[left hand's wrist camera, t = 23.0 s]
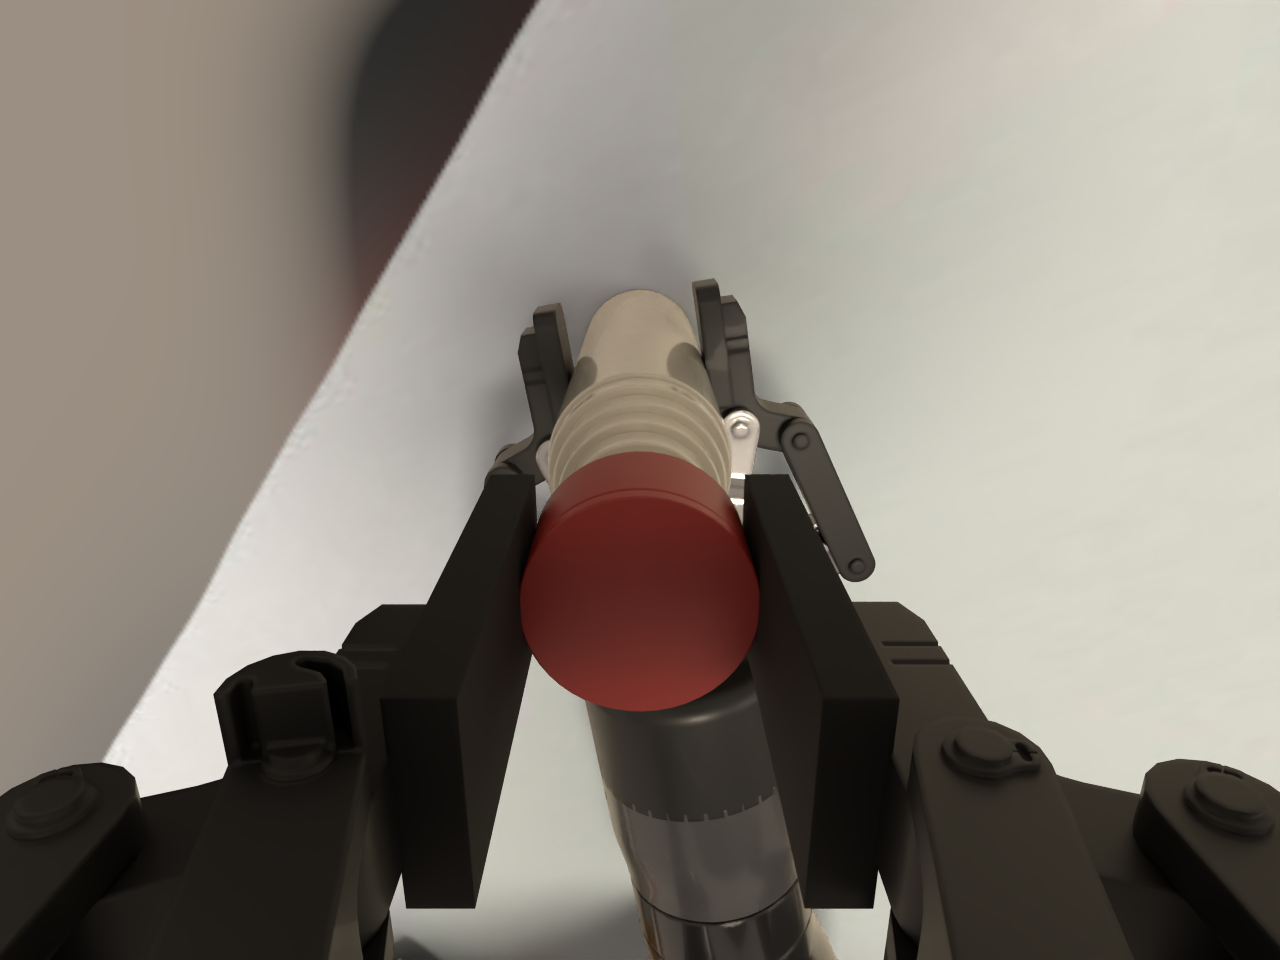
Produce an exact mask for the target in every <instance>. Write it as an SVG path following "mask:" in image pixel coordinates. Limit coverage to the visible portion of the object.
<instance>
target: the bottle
mask: <svg viewBox="0 0 1280 960" xmlns="http://www.w3.org/2000/svg"><path fill="white" fill-rule="evenodd" d="M634 451H642V452H655V453H662V454H667V455H670V456H673V457H677V458H680V459H682V460H684V461H687V462H689V463H691V464H693V465H695V466H696V467H698V468H700V469H701V470H703V471H704V472H706V473H707V474H708V475H709V476H711V477H712V478H713V479H714V480H715V481H716V482H717V483H718V484H719V485H720V486H721V487H722V488H723V489H724V490H725V492H726V493H727V494H729V489H730V485H731V476H732V450H731V444H730V439H729V436H728V433H727V430H726V427H725V424H724V421H723V418H722V415H721V412H720V409H719V406H718V404H717V401H716V398H715V395H714V392H713V389H712V386H711V383H710V380H709V377H708V374H707V371H706V368H705V365H704V363H703V360H702V357H701V354H700V351H699V348H698V345H697V342H696V339H695V336H694V333H693V330H692V327H691V324H690V322H689V320H688V318H687V316H686V315H685V313H684V312H683V310H682V309H681V308H680V307H679V306H678V305H677V304H676V303H675V302H674V301H672V300H671V299H669V298H668V297H666V296H664V295H662V294H660V293H657V292H654V291H648V290H631V291H627V292H623V293H621V294H618V295H616V296H614V297H612V298H611V299H609V300H608V301H606V302H605V303H604V304H603V305H602V306H601V307H600V308H599V309H598V310H597V312H596V313H595V315H594V316H593V318H592V320H591V322H590V324H589V327H588V330H587V333H586V336H585V339H584V342H583V344H582V347H581V350H580V353H579V356H578V359H577V362H576V365H575V368H574V371H573V374H572V377H571V379H570V382H569V385H568V388H567V391H566V394H565V397H564V400H563V403H562V406H561V409H560V411H559V414H558V417H557V420H556V423H555V426H554V429H553V432H552V435H551V439H550V443H549V449H548V479H549V487H550V491H551V494H553V492H554V491H555V490H556V489H557V488H558V486H559V485H560V484H561V483H562V482H563V481H564V480H565V479H567V478H568V477H569V476H570V475H571V474H573V473H574V472H575V471H577V470H578V469H580V468H581V467H583V466H585V465H587V464H589V463H591V462H593V461H595V460H597V459H600V458H603V457H606V456H609V455H614V454H618V453H624V452H634Z"/></svg>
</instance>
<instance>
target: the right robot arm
mask: <svg viewBox="0 0 1280 960" xmlns="http://www.w3.org/2000/svg"><path fill="white" fill-rule="evenodd" d="M692 288H693V296H694V303H695V311H696V318H697V326H698V333H699V340H700V348H701V355H702V360H703V363H704V365H705V368H706V371H707V374H708V377H709V380H710V383H711V386H712V389H713V392H714V395H715V398H716V401H717V404H718V406H719V409H720V412H721V415H722V418H723V421H724V424H725V427H726V430H727V433H728V436H729V439H730V444H731V450H732V476H731V485H730V489H729V494H728V496H729V497H730V499H731V500H732V502H733V504H734V506H735V508H736V509H737V511H738V514H739V517H740V520H741V522H742V521H743V500H744V478H745V474H752V471H753V466H754V461H755V455H756V450H757V447H758V448H764V449H769V450H774V451H780V452H783V454H784V456H785V458H786V460H787V463H788V465H789V467H790V469H791V471H792V473H793V476H794V478H795V480H796V482H797V484H798V486H799V489H800V491H801V493H802V495H803V497H804V499H805V502H806V504H807V506H808V508H809V510H810V512H811V513H810V514H808V515H809V517H810V519H811V521H812V523H813V525H814V527H815V529H816V531H817V533H818V535H819V537H820V539H821V541H822V543H823V545H824V547H825V549H826V551H827V553H828V555H829V557H830V559H831V561H832V563H833V565H834V567H835V569H836V571H837V573H838V574H841V576H842V577H843V578H844V579H846V580H848V581H851V582H860V581H863V580H865V579H867V578H868V577H869V576H870V575H871V574H872V573H873V571H874V569H875V559H874V557H873V555H872V552H871V550H870V548H869V545H868V543H867V541H866V539H865V536H864V534H863V532H862V530H861V527H860V525H859V523H858V520H857V518H856V516H855V514H854V511H853V509H852V507H851V505H850V502H849V500H848V498H847V496H846V493H845V491H844V489H843V486H842V484H841V482H840V480H839V477H838V475H837V473H836V471H835V468H834V466H833V464H832V461H831V459H830V457H829V455H828V452H827V450H826V448H825V446H824V443H823V441H822V439H821V437H820V434H819V432H818V430H817V429H816V427H815V426H814V424H813V423H812V422H811V420H810V419H809V417H808V416H807V414H806V413H805V412H804V410H803V409H802V408H801V407H800V406H799V405H798V404H796V403H793V402H785V403H781V404H780V403H775V402H770V401H765V400H762V399H760V398H759V397H757V396H756V395H755V393H754V384H753V376H752V367H751V358H750V351H749V341H748V332H747V324H746V317H745V315H744V313H743V311H742V309H741V307H740V306H739V304H738V302H737V301H736V299H735V298H734V297H733V295H729V296H723V297H720V291H719V286H718V283H717V282H716V280H715V279H714V278H713V279H707V280H701V281H695V282H692ZM533 323H534V327H529V328H526V330H525V331H524V332H523V334H522V335H521V338H520V344H519V350H518V356H519V361H520V365H521V370H522V375H523V379H524V383H525V389H526V393H527V398H528V402H529V407H530V412H531V416H532V421H533V426H534V433H533V434H532V435H531V436H530V437H528V438H526V439H525V440H523V441H521V442H519V443H517V444H508V445H506V446H504V447H503V448H501V450H500V451H499V453H498V454H497V456H496V459H495V463H494V465H493V467H492V468H491V469H490V470H489V472H488V474H487V476H486V478H485V482H484V488H485V486H486V484H487V482H488V480H489V478H490V476H491V474H535V485H537V484H539V483H541V482H543V481H545V480H546V481H547V483H548V485H549V479H548V449H549V443H550V439H551V435H552V432H553V429H554V426H555V423H556V420H557V417H558V414H559V411H560V409H561V406H562V403H563V400H564V397H565V394H566V391H567V388H568V385H569V382H570V379H571V377H572V374H573V371H574V366H573V361H572V356H571V351H570V345H569V340H568V335H567V330H566V325H565V319H564V314H563V310H562V306H561V304H560V303H557V304H551V305H545V306H539V307H538V308H537V309H536V310H535V311H534V313H533ZM585 701H586V706H587V711H588V715H589V720H590V724H591V729H592V733H593V738H594V743H595V748H596V753H597V757H598V762H599V766H600V771H601V776H602V780H603V785H604V790H605V794H606V799H607V803H608V807H609V812H610V817H611V821H612V825H613V829H614V832H615V835H616V838H617V841H618V843H619V846H620V849H621V851H622V854H623V856H624V858H625V861H626V863H627V866H628V870H629V873H630V877H631V881H632V886H633V891H634V895H635V900H636V905H637V909H638V914H639V920H640V925H641V930H642V934H643V938H644V942H645V946H646V949H647V952H648V954H649V957H650V960H837V958H836V956H835V953H834V951H833V949H832V947H831V945H830V943H829V940H828V938H827V936H826V934H825V932H824V930H823V928H822V926H821V924H820V923H819V921H818V919H817V917H816V916H815V914H814V912H813V909H804V904H803V900H802V895H801V891H800V886H799V882H798V878H797V873H796V869H795V864H794V860H793V855H792V851H791V846H790V842H789V837H788V833H787V829H786V824H785V820H784V815H783V811H782V806H781V802H780V797H779V793H778V788H777V784H776V779H775V775H774V771H773V766H772V762H771V757H770V753H769V748H768V744H767V739H766V735H765V730H764V726H763V722H762V717H761V713H760V708H759V704H758V699H757V695H756V690H755V686H754V681H753V677H752V672H751V668H750V664H749V659H748V655H746V656H745V658H744V660H743V661H742V662H741V663H740V665H739V666H738V667H737V669H736V670H735V671H734V672H733V673H732V674H731V675H730V676H729V677H728V678H727V679H726V680H725V681H724V682H722V683H721V684H720V685H718V686H717V687H716V688H715V689H713V690H712V691H710V692H708V693H707V694H705V695H703V696H701V697H699V698H697V699H695V700H693V701H690V702H688V703H685V704H682V705H679V706H676V707H673V708H667V709H662V710H655V711H624V710H617V709H612V708H608V707H604V706H600V705H597V704H594V703H592V702H589V701H587V700H585Z"/></svg>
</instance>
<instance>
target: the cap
mask: <svg viewBox="0 0 1280 960" xmlns="http://www.w3.org/2000/svg"><path fill="white" fill-rule="evenodd" d="M759 595H760V586H759V581H758V577H757V573H756V570H755V566H754V563H753V560H752V556H751V553H750V549H749V546H748V543H747V539H746V536H745V532H744V529H743V526H742V522H741V520H740V517H739V514H738V511H737V509H736V508H735V506H734V504H733V502H732V500H731V499H730V497H729V496H728V494H727V493H726V492H725V490H724V489H723V488H722V487H721V486H720V485H719V484H718V483H717V482H716V481H715V480H714V479H713V478H712V477H711V476H709V475H708V474H707V473H706V472H704V471H703V470H701V469H700V468H698V467H696V466H695V465H693V464H691V463H689V462H687V461H684V460H682V459H680V458H677V457H673V456H670V455H667V454H662V453H655V452H642V451H634V452H624V453H618V454H614V455H609V456H606V457H603V458H600V459H597V460H595V461H593V462H591V463H589V464H587V465H585V466H583V467H581V468H580V469H578V470H577V471H575V472H574V473H573V474H571V475H570V476H569V477H568V478H567V479H565V480H564V481H563V482H562V483H561V484H560V485H559V486H558V488H557V489H556V490H555V491H554V492H553V494H552V495H551V497H550V498H549V500H548V501H547V503H546V505H545V506H544V509H543V511H542V513H541V515H540V518H539V521H538V525H537V528H536V532H535V535H534V538H533V542H532V545H531V549H530V552H529V555H528V559H527V562H526V566H525V569H524V572H523V576H522V579H521V583H520V606H521V623H522V631H523V634H524V637H525V640H526V642H527V644H528V646H529V648H530V650H531V652H532V654H533V655H534V657H535V658H536V660H537V661H538V663H539V664H540V666H541V667H542V668H543V669H544V670H545V671H546V672H547V674H548V675H549V676H550V677H552V678H553V679H554V680H555V681H556V682H557V683H558V684H559V685H561V686H562V687H564V688H565V689H567V690H568V691H570V692H571V693H573V694H575V695H577V696H578V697H580V698H582V699H584V700H587V701H589V702H592V703H594V704H597V705H600V706H604V707H608V708H612V709H617V710H624V711H655V710H662V709H667V708H673V707H676V706H679V705H682V704H685V703H688V702H690V701H693V700H695V699H697V698H699V697H701V696H703V695H705V694H707V693H708V692H710V691H712V690H713V689H715V688H716V687H717V686H718V685H720V684H721V683H722V682H724V681H725V680H726V679H727V678H728V677H729V676H730V675H731V674H732V673H733V672H734V671H735V670H736V669H737V667H738V666H739V665H740V663H741V662H742V661H743V660H744V658H745V656H746V655H747V653H748V651H749V649H750V648H751V646H752V643H753V641H754V638H755V636H756V633H757V629H758V614H759Z"/></svg>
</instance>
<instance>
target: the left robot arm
mask: <svg viewBox="0 0 1280 960" xmlns="http://www.w3.org/2000/svg"><path fill="white" fill-rule="evenodd" d="M742 526H743V529H744V532H745V536H746V539H747V543H748V546H749V549H750V553H751V556H752V560H753V563H754V566H755V570H756V573H757V577H758V581H759V586H760V595H759V614H758V629H757V633H756V636H755V638H754V641H753V643H752V646H751V648H750V649H749V651H748V653H747V655H748V659H749V664H750V668H751V672H752V677H753V681H754V686H755V690H756V695H757V699H758V704H759V708H760V713H761V717H762V722H763V726H764V730H765V735H766V739H767V744H768V748H769V753H770V757H771V762H772V766H773V771H774V775H775V779H776V784H777V788H778V793H779V797H780V802H781V806H782V811H783V815H784V820H785V824H786V829H787V833H788V837H789V842H790V846H791V851H792V855H793V860H794V864H795V869H796V873H797V878H798V882H799V886H800V891H801V895H802V900H803V904H804V909H873V906H874V898H875V890H876V883H877V875H878V870H879V873H880V876H881V879H882V882H883V885H884V888H885V890H886V893H887V896H888V899H889V902H890V905H891V910H890V918H889V925H888V932H887V940H886V947H885V954H884V960H1280V792H1279V791H1277V790H1276V789H1274V788H1273V787H1272V786H1270V785H1269V784H1267V783H1264V782H1262V781H1260V780H1258V779H1256V778H1254V777H1252V776H1250V775H1247V774H1245V773H1243V772H1242V771H1240V770H1237V769H1234V768H1231V767H1228V766H1222V765H1221V764H1216V763H1211V762H1208V761H1198V760H1187V759H1175V760H1170V761H1165V762H1160V763H1157V764H1156V765H1155V766H1154V767H1152V768H1151V769H1150V770H1149V771H1148V772H1147V773H1146V774H1145V777H1144V781H1143V785H1142V789H1141V793H1140V794H1135V793H1130V792H1126V791H1121V790H1116V789H1112V788H1107V787H1102V786H1097V785H1093V784H1088V783H1083V782H1080V781H1076V780H1072V779H1069V778H1065V777H1062V776H1059V775H1056V773H1055V770H1054V768H1053V766H1052V764H1051V762H1050V761H1049V760H1048V758H1047V757H1046V755H1045V754H1044V753H1043V751H1042V750H1041V748H1040V747H1038V746H1037V745H1036V744H1034V743H1033V742H1032V741H1030V740H1029V739H1028V738H1026V737H1025V736H1023V735H1022V734H1021V733H1019V732H1017V731H1015V730H1012V729H1010V728H1008V727H1005V726H1003V725H1001V724H998V723H996V722H992V721H988V719H987V718H986V716H985V715H984V713H983V712H982V710H981V709H980V707H979V705H978V704H977V702H976V701H975V699H974V698H973V696H972V694H971V693H970V691H969V690H968V688H967V687H966V685H965V684H964V682H963V680H962V679H961V677H960V676H959V674H958V673H957V671H956V669H955V668H954V666H953V665H950V663H949V658H948V657H947V655H946V654H945V652H944V651H943V649H942V648H941V646H938V641H937V640H936V638H935V637H934V635H933V633H932V632H931V630H930V629H929V627H928V626H927V624H926V623H925V621H924V620H923V619H921V618H920V617H919V616H917V615H916V614H914V613H913V612H911V611H910V610H909V609H907V608H906V607H904V606H903V605H901V604H900V603H898V602H852V601H851V599H850V597H849V595H848V593H847V591H846V589H845V587H844V585H843V583H842V581H841V579H840V577H839V575H838V573H837V571H836V569H835V567H834V565H833V563H832V561H831V559H830V557H829V555H828V553H827V551H826V549H825V547H824V545H823V543H822V541H821V539H820V537H819V535H818V533H817V531H816V529H815V527H814V525H813V523H812V521H811V519H810V517H809V515H808V513H807V511H806V509H805V507H804V505H803V503H802V501H801V499H800V497H799V495H798V493H797V491H796V489H795V487H794V485H793V483H792V481H791V479H790V477H789V475H788V474H745V478H744V500H743V521H742ZM536 528H537V511H536V490H535V474H491V476H490V478H489V480H488V482H487V484H486V486H485V488H484V490H483V492H482V494H481V496H480V498H479V500H478V502H477V504H476V506H475V508H474V510H473V512H472V514H471V516H470V518H469V520H468V522H467V524H466V526H465V528H464V530H463V532H462V534H461V536H460V538H459V540H458V542H457V544H456V546H455V548H454V550H453V552H452V554H451V556H450V558H449V560H448V562H447V564H446V566H445V568H444V570H443V572H442V574H441V576H440V578H439V580H438V582H437V584H436V586H435V588H434V590H433V592H432V594H431V596H430V598H429V600H428V602H427V604H382V605H381V606H379V607H378V608H376V609H375V610H374V611H372V612H371V613H369V614H368V615H366V616H365V617H364V618H362V619H361V620H359V621H358V622H357V623H355V625H354V627H353V628H352V630H351V631H350V633H349V634H348V636H347V638H346V639H345V641H344V642H343V644H342V649H339V650H338V652H337V653H336V654H334V653H331V652H327V651H296V652H291V653H285V654H280V655H274V656H271V657H268V658H266V659H263V660H261V661H258V662H255V663H253V664H250V665H247V666H246V667H244V668H243V669H241V670H239V671H238V672H236V673H235V674H233V675H232V676H230V677H228V678H227V679H226V680H225V681H224V682H223V683H222V685H221V686H220V687H219V688H218V689H217V691H216V692H215V693H214V694H213V695H214V700H215V704H216V709H217V714H218V719H219V724H220V728H221V733H222V738H223V743H224V748H225V752H226V757H227V762H228V767H227V769H226V772H225V774H224V777H223V778H222V779H220V780H216V781H213V782H209V783H206V784H202V785H199V786H194V787H190V788H185V789H180V790H176V791H171V792H166V793H162V794H157V795H152V796H147V797H143V798H140V796H139V792H138V788H137V784H136V780H135V777H134V776H133V775H131V774H130V773H129V772H128V771H127V770H126V769H125V768H124V767H121V766H116V765H111V764H106V763H91V764H79V765H72V766H68V767H63V768H60V769H58V770H52V771H49V772H46V773H43V774H41V775H39V776H37V777H35V778H33V779H31V780H29V781H26V782H24V783H22V784H20V785H18V786H16V787H14V788H12V789H10V790H9V791H7V792H6V793H4V794H3V795H2V796H0V960H392V958H393V949H394V940H393V932H392V925H391V918H390V910H389V908H390V905H391V902H392V899H393V896H394V893H395V890H396V887H397V884H398V881H399V878H400V875H401V873H402V879H403V887H404V895H405V903H406V909H475V906H476V902H477V897H478V893H479V888H480V884H481V880H482V875H483V871H484V866H485V862H486V857H487V853H488V848H489V844H490V839H491V835H492V831H493V826H494V822H495V817H496V813H497V808H498V804H499V799H500V795H501V790H502V786H503V782H504V777H505V773H506V768H507V764H508V759H509V755H510V750H511V746H512V741H513V737H514V733H515V728H516V724H517V719H518V715H519V710H520V706H521V701H522V697H523V692H524V688H525V684H526V679H527V675H528V670H529V666H530V661H531V657H532V652H531V650H530V648H529V646H528V644H527V642H526V640H525V637H524V634H523V631H522V623H521V606H520V583H521V579H522V576H523V572H524V569H525V566H526V562H527V559H528V555H529V552H530V549H531V545H532V542H533V538H534V535H535V532H536Z"/></svg>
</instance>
